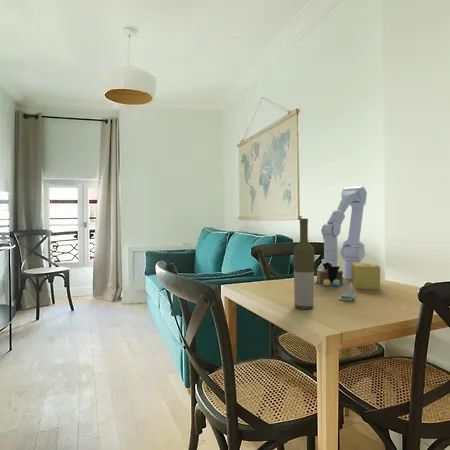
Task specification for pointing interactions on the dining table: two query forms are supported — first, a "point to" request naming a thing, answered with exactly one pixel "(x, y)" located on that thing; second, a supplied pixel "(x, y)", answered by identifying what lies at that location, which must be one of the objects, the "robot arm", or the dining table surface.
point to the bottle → (304, 269)
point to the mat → (331, 286)
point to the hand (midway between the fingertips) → (330, 280)
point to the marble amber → (326, 282)
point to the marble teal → (336, 282)
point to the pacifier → (348, 294)
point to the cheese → (365, 275)
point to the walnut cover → (323, 275)
